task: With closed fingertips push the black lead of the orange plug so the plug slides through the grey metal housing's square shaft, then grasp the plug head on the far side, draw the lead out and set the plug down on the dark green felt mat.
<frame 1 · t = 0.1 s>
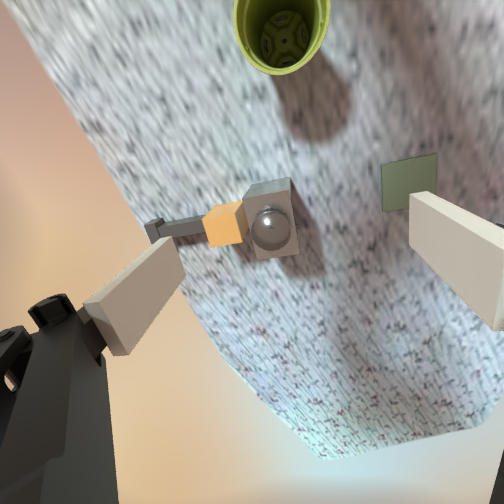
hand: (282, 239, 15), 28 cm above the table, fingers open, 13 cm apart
housing: (275, 208, 43), on the table
mat: (407, 183, 38), on the table
plant pot: (283, 42, 33), on the table
plug: (232, 216, 44), on the table
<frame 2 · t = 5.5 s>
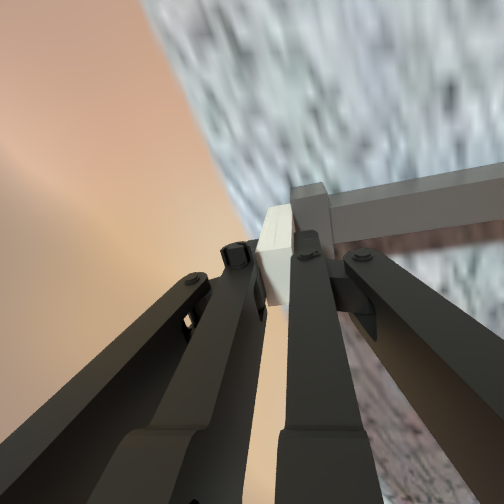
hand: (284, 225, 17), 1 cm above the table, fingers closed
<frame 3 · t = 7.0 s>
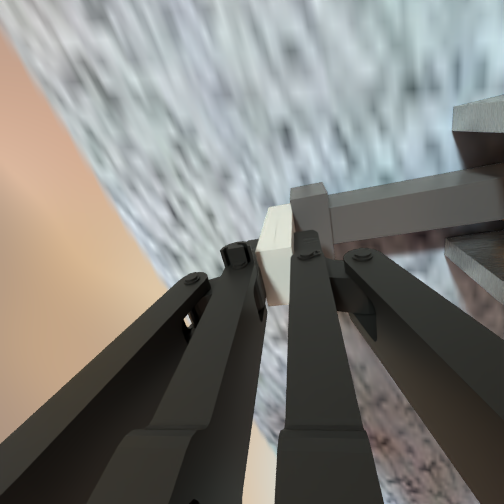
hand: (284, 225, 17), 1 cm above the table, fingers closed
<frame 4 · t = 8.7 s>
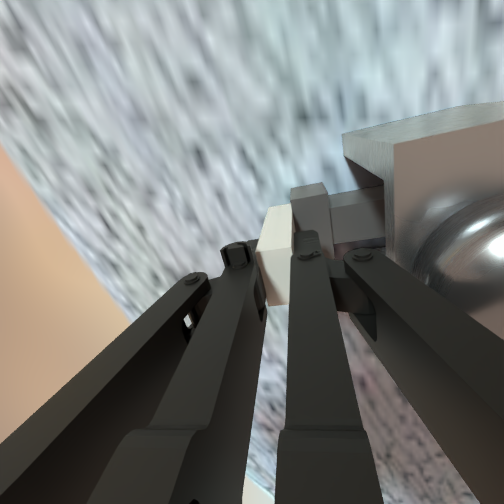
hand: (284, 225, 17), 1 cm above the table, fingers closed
housing: (398, 198, 16), on the table
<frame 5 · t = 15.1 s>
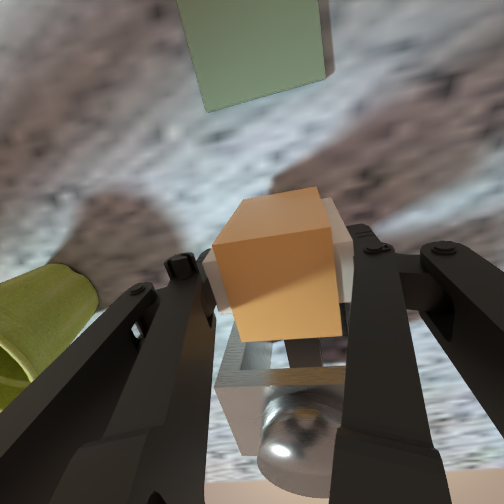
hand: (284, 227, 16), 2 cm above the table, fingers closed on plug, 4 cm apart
housing: (303, 314, 22), on the table
mat: (249, 23, 14), on the table
plant pot: (71, 290, 25), on the table
plug: (285, 231, 17), point 2 cm above the table, touching gripper
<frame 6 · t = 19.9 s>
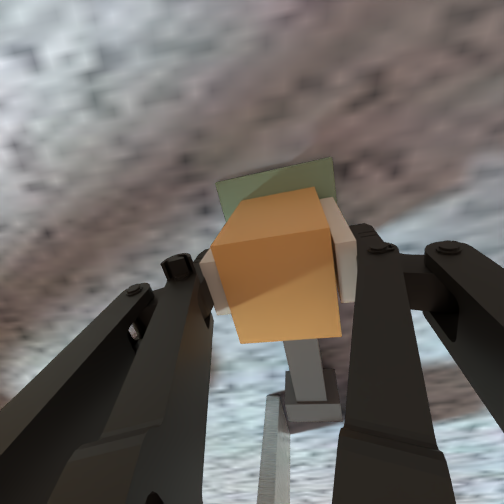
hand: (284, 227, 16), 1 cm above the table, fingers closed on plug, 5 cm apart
housing: (318, 415, 25), on the table
mat: (281, 224, 17), on the table
plug: (283, 231, 17), on the table, touching gripper, mat
when the fingers open (1 cm above the table, at t = 19.9 s): plug stays where it is, resting on mat.
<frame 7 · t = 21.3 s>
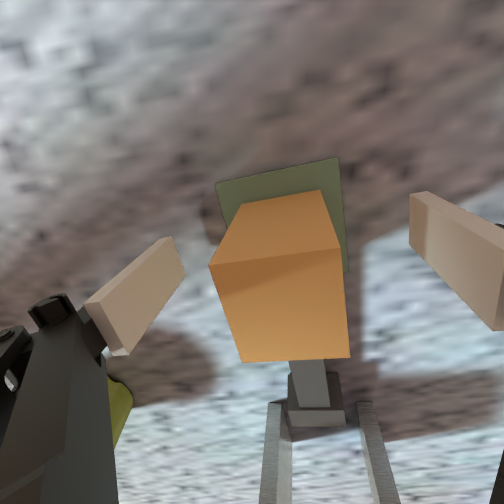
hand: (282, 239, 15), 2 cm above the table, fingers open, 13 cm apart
housing: (322, 424, 24), on the table
mat: (284, 227, 16), on the table
plant pot: (107, 390, 27), on the table
plug: (286, 236, 16), point 1 cm above the table, touching mat
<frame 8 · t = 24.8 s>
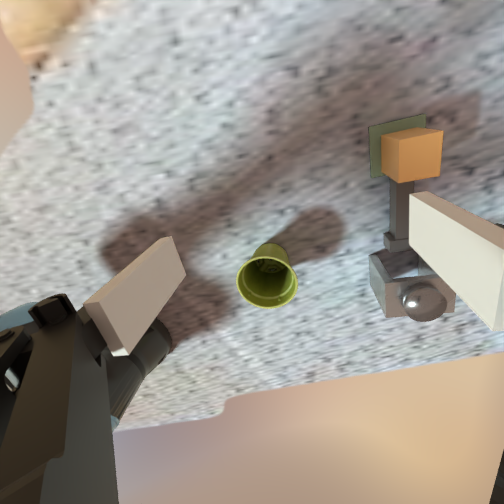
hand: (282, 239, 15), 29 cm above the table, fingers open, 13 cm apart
housing: (397, 267, 45), on the table
mat: (396, 147, 37), on the table
plant pot: (271, 257, 48), on the table
plug: (398, 150, 37), point 1 cm above the table, touching mat
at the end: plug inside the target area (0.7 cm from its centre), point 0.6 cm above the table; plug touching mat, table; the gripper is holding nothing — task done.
